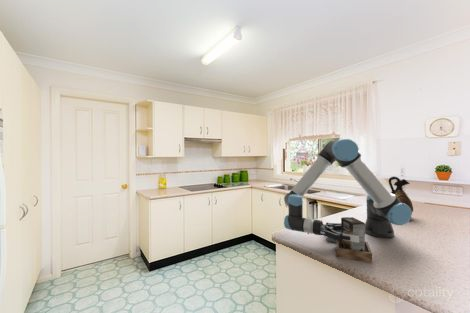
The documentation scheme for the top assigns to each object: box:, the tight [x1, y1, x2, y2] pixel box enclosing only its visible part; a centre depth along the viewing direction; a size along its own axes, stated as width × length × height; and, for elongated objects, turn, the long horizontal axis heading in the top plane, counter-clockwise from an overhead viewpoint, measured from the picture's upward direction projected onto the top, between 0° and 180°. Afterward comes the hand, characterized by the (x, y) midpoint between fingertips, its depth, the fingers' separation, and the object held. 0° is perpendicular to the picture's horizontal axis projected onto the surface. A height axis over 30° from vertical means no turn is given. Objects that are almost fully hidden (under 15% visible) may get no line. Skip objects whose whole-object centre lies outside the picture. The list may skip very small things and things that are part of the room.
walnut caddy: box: [335, 240, 373, 264], centre depth 103 cm, size 14×14×4 cm
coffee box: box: [340, 216, 366, 252], centre depth 103 cm, size 9×6×16 cm
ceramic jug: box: [388, 176, 414, 213], centre depth 158 cm, size 17×15×30 cm
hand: (360, 234), depth 101 cm, fingers open, 13 cm apart
